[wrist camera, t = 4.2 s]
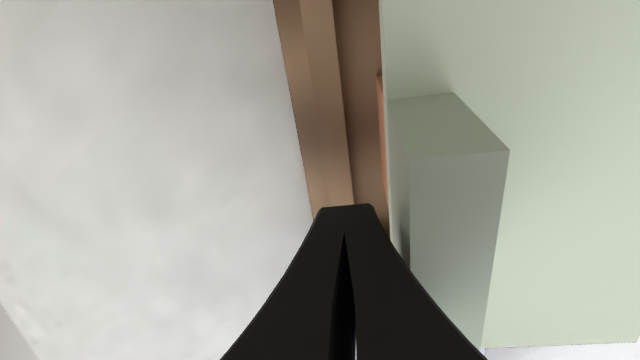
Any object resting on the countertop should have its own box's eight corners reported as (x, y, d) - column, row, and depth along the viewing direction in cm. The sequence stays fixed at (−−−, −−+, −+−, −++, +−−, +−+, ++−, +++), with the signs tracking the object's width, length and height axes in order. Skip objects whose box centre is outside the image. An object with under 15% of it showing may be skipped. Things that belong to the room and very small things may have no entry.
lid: (619, 322, 13) (718, 444, 9) (394, 332, 13) (412, 447, 10) (838, -165, 6) (1425, -329, 3) (374, -83, 7) (406, -133, 4)
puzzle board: (794, 208, 16) (980, 304, 11) (321, 243, 18) (315, 334, 14) (1052, -179, 10) (1735, -326, 5) (269, -44, 12) (225, -56, 7)
